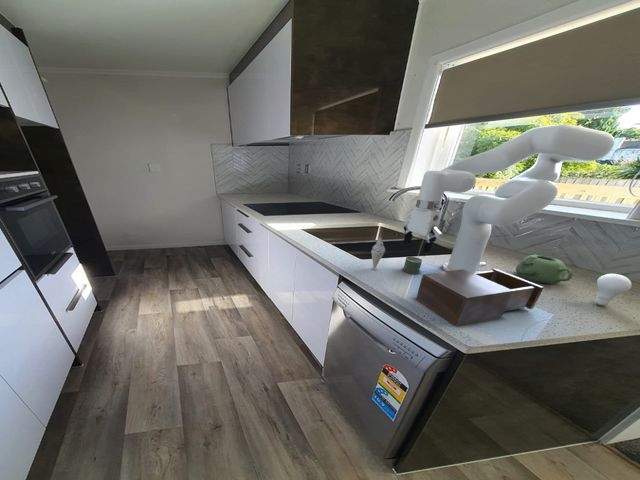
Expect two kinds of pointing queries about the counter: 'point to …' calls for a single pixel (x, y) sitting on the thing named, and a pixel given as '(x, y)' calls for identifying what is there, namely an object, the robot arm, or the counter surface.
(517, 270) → the green rounded ceramic pot
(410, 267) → the tin
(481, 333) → the counter surface
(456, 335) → the counter surface
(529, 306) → the drawer
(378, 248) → the ice cream cone
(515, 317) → the counter surface
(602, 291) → the lightbulb
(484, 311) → the wooden box
